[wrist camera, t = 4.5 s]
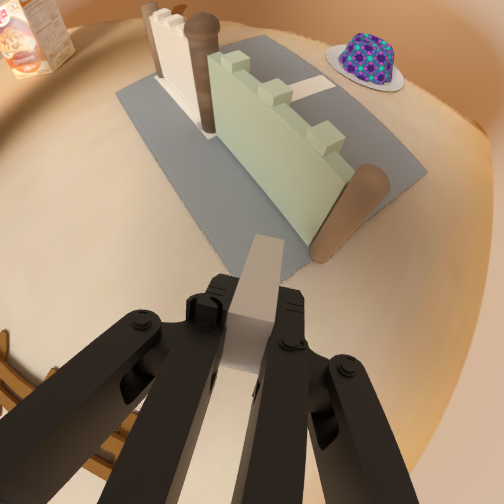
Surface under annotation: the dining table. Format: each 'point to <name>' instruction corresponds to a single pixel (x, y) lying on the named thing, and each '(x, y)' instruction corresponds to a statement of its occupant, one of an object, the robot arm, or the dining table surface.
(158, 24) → the fixed panel
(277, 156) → the panel
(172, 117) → the card
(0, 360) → the decorative fence
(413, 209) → the dining table surface
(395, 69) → the pudding
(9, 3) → the coffeecake box
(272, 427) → the robot arm
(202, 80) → the hinge post
